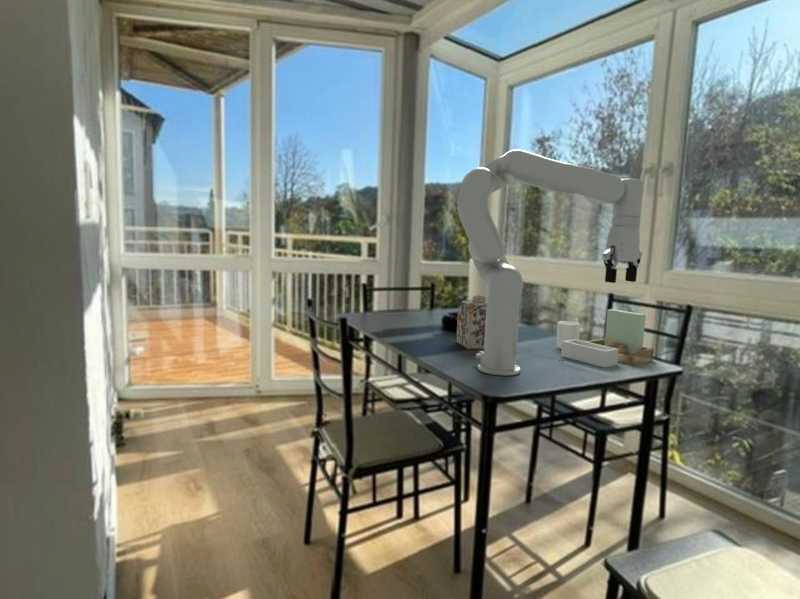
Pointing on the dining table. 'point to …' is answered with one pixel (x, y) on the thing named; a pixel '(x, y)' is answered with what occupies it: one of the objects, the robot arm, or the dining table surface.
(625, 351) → the offcut long
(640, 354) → the rack
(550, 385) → the dining table surface
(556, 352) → the dining table surface
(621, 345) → the offcut short
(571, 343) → the holder
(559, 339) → the white cup
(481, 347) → the decorative jar
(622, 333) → the tall sheet
